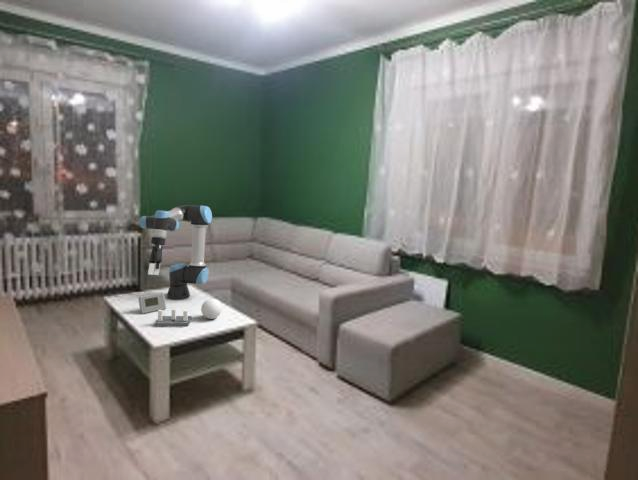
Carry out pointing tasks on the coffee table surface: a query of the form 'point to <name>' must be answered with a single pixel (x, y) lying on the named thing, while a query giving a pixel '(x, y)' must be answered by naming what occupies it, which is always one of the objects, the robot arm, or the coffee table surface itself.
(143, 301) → the digital clock
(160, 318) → the breaker
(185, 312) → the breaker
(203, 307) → the decorative ball
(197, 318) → the coffee table surface
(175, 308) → the breaker
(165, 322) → the board
